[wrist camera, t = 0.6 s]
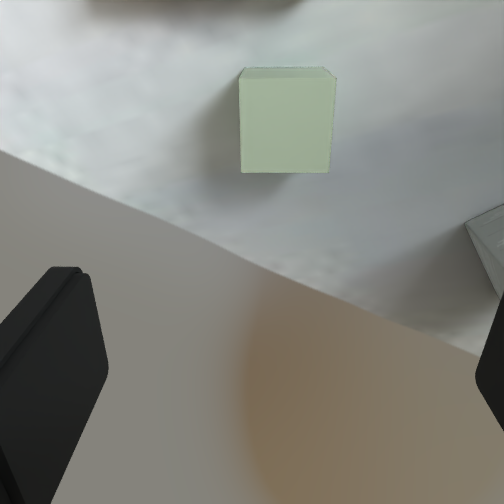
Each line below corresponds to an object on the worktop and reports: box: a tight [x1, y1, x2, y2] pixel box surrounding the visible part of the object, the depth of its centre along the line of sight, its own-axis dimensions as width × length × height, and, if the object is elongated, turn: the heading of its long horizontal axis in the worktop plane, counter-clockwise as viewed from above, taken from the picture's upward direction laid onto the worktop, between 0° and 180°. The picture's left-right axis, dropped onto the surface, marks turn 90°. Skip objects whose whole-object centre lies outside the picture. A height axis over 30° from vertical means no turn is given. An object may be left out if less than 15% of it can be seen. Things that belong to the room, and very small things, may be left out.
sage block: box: [239, 67, 337, 173], centre depth 25 cm, size 5×5×6 cm
